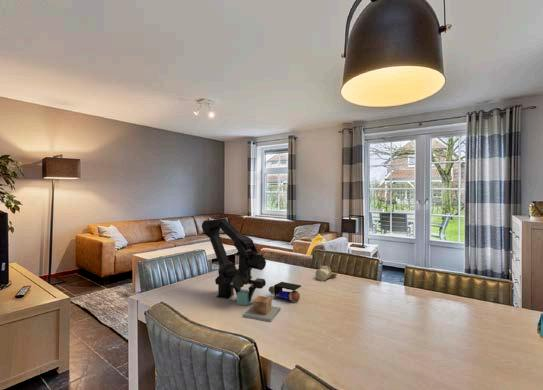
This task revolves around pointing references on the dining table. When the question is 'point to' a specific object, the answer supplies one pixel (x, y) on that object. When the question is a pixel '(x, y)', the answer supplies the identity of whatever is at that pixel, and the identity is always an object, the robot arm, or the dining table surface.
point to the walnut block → (262, 305)
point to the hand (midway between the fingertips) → (244, 300)
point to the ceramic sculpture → (324, 273)
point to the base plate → (268, 317)
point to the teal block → (243, 297)
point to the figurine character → (278, 291)
